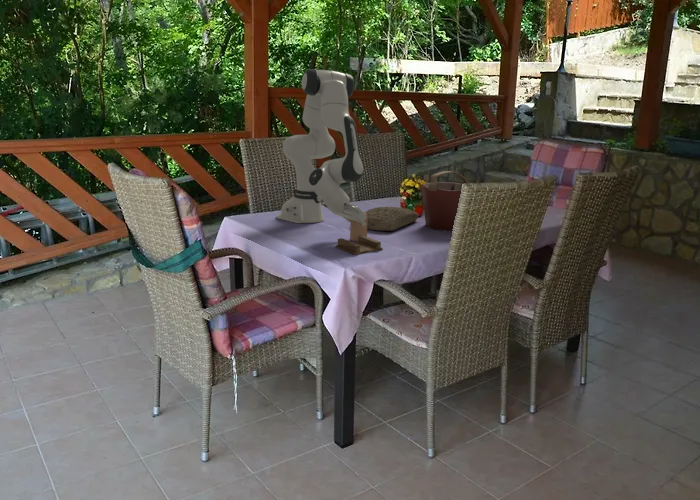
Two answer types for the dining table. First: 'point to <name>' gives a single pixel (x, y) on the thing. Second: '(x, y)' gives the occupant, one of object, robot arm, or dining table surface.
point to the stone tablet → (389, 218)
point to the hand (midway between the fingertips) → (357, 222)
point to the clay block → (357, 229)
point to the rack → (359, 245)
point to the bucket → (441, 201)
